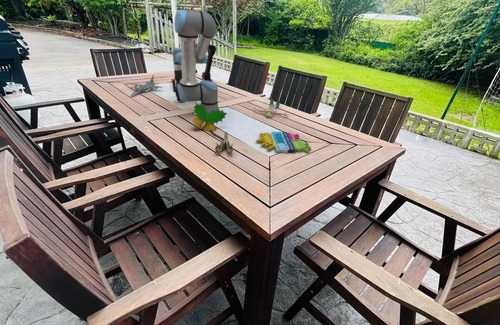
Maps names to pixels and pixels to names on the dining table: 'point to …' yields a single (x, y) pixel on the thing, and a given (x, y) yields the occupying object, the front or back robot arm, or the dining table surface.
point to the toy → (271, 109)
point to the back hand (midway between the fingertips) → (186, 81)
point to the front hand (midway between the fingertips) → (181, 100)
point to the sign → (283, 142)
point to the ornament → (207, 117)
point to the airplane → (145, 87)
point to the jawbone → (224, 145)
